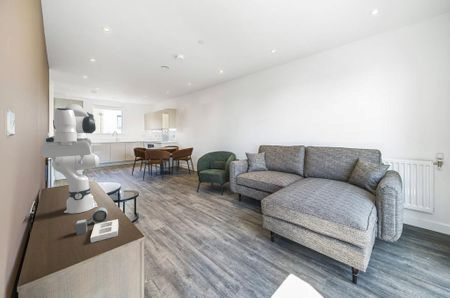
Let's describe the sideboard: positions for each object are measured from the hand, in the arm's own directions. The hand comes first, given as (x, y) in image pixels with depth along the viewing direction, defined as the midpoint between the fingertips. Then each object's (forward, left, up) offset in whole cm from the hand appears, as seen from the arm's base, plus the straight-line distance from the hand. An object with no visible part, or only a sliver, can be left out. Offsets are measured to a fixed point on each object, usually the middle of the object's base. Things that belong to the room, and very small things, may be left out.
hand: (69, 164), depth 99 cm
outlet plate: (+13, +15, -36) cm, 41 cm away
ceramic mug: (-5, +10, -36) cm, 38 cm away
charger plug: (+6, +4, -36) cm, 36 cm away
